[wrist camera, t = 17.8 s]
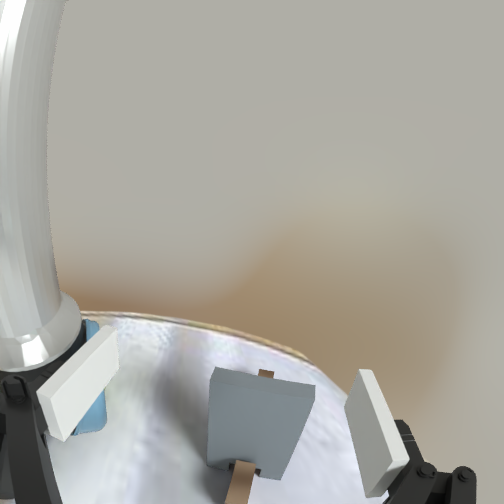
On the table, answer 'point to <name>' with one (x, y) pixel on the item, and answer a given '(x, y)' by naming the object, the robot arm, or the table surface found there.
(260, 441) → the slotted plate
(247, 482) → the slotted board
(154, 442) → the table surface
